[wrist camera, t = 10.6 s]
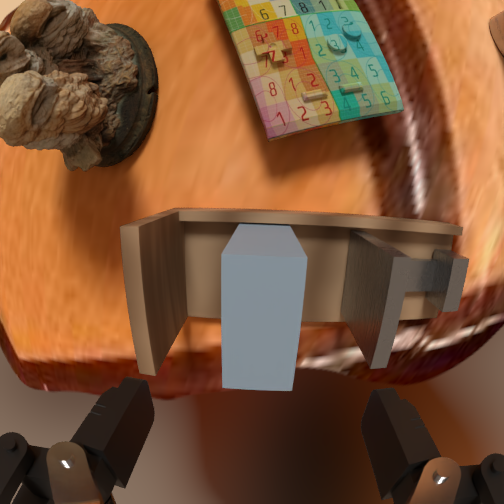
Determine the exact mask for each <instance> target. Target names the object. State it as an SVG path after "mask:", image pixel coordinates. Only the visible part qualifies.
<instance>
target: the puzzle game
mask: <svg viewBox="0 0 504 504" xmlns="http://www.w3.org/2000/svg"><path fill="white" fill-rule="evenodd" d="M216 1H217V3H218V6H219V8H220V11H221V13H222V15H223V18H224V20H225V23H226V25H227V28H228V30H229V33H230V35H231V38H232V41H233V43H234V46H235V48H236V51H237V54H238V56H239V59H240V62H241V64H242V67H243V70H244V72H245V75H246V78H247V81H248V83H249V86H250V89H251V92H252V95H253V97H254V100H255V103H256V106H257V109H258V112H259V115H260V118H261V121H262V124H263V127H264V130H265V133H266V136H267V139H268V142H269V141H273V140H276V139H280V138H283V137H287V136H291V135H295V134H299V133H302V132H306V131H310V130H315V129H319V128H323V127H327V126H332V125H336V124H341V123H346V122H350V121H355V120H361V119H366V118H371V117H377V116H382V115H388V114H395V113H399V112H401V111H403V110H404V109H403V104H402V100H401V97H400V95H399V92H398V90H397V87H396V84H395V82H394V79H393V77H392V75H391V72H390V70H389V68H388V65H387V63H386V61H385V58H384V56H383V54H382V52H381V50H380V48H379V46H378V44H377V42H376V40H375V38H374V36H373V34H372V32H371V30H370V28H369V26H368V24H367V22H366V20H365V19H364V17H363V15H362V13H361V11H360V10H359V8H358V6H357V5H356V3H355V1H354V0H216Z"/></svg>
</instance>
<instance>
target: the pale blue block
mask: <svg viewBox="0 0 504 504" xmlns="http://www.w3.org/2000/svg"><path fill="white" fill-rule="evenodd" d="M306 270H307V256H306V254H305V252H304V250H303V249H302V247H301V245H300V243H299V241H298V239H297V238H296V236H295V234H294V232H293V230H292V228H291V227H290V225H289V224H276V223H247V222H240V224H239V225H238V227H237V229H236V230H235V232H234V234H233V235H232V237H231V239H230V240H229V242H228V244H227V245H226V247H225V249H224V250H223V252H222V254H221V332H222V382H223V388H232V389H247V390H271V391H292V385H293V379H294V372H295V365H296V358H297V351H298V343H299V335H300V327H301V318H302V309H303V300H304V290H305V280H306Z"/></svg>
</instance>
